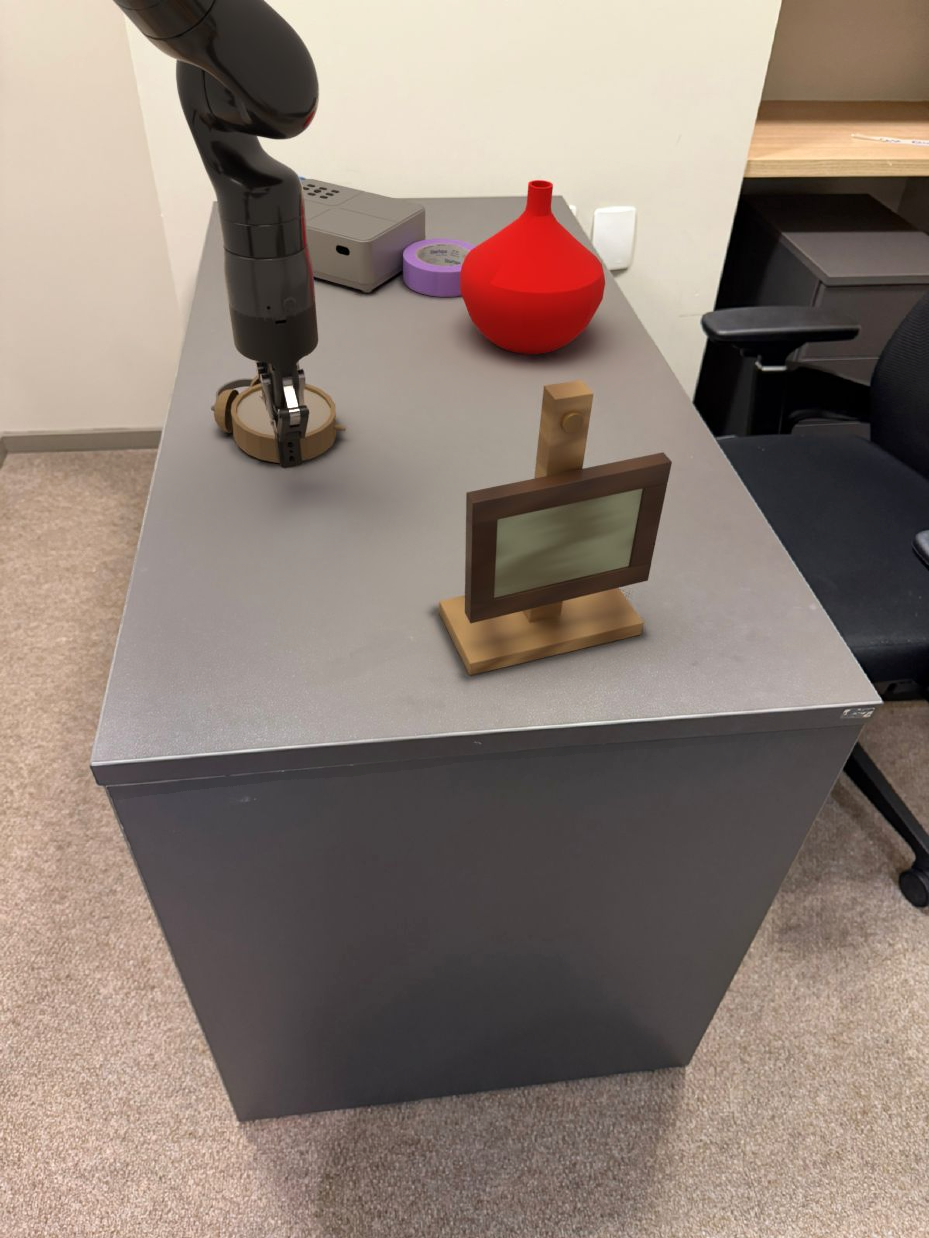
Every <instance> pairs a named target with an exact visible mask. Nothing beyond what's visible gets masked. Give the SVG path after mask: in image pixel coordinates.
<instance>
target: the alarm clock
mask: <svg viewBox="0 0 929 1238" xmlns="http://www.w3.org/2000/svg"><path fill="white" fill-rule="evenodd" d="M246 387H247V388H246ZM239 388H246V389H244V390H242V391H241V392H240V393H239V390H237V389H239ZM304 404H305V405H306V406H307V409H309V419H308V424H307V430H306V435H305V438H301V439H300V445H301V455H302V462H305V461H308V460H311V459H314V458H316V457H319V456H322V455H323V454H324V453H325V452H326V451H328V450H329V449H330V448H331V447H332V446H333V444H334V442H335V441H336V438H337V431H339V432H340V431H341V432H346V428H347V427H346V426H344V425H341V424H337V423H336V417H337V412H336V411H337V410H336V409H337V407H336V403H335V402H334V400H333V399H332V397H331V395H329V394H328V393H327V392H325V391H324V390H323V389H321V388H319V387H317V386H314V385H312V384H309V383H306V387H305V389H304ZM210 410H211V411H212V412H213V417H214V421H215V423H216V425H217V427H218V428H219V429H221V430H222V431H224V432H226V433H229V434H231V433H232V436H233V438H234V439H233V440H235V443H236V445H237V447H239V448H240V449H241V450H242V451H243V452H244V453H246V454H247V455H249V456H251V457H254V458H256V459H258V460H260V461H266V462H270V463H278V464H280V463H279V460H278V457H277V449H276V441H275V434H274V431H273V428H272V425H271V424H270V420H271V419H270V417H269V414H268V411H267V410H266V406H265V404H264V401H263V397H262V390H261V383H260V380H259V378H258V376H257V375H256V376H254V378H250V377H249V378H248V377H247V378H237V379H233V380H231V381H228V382H225V383H224V384H222V385H220V386H219V387H218V388H217V390H216V392H215V402H214V405H211V406H210Z"/></svg>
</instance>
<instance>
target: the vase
mask: <svg viewBox="0 0 929 1238" xmlns="http://www.w3.org/2000/svg"><path fill="white" fill-rule="evenodd" d="M553 190H554V184H553V183H552V182H551V181H548V180H543V179H535V180H530V181H529V182H528V183H527V193H526V195H527V196H526V204H525V209H524V210H523V212H522V213H521V214H520V215H519V217H518V218H516V219H515V220H513V221H512V222H510V223H508V225H506V226H504V227H503V228H502V229H500V230H499V231H498V232H496V233H495V234H494V235H492V236H490V237H488V238H487V239H485V240H484V241H483V242H481V243H479V244H478V245H475V246H476V247H475V248H473V249H472V250H471V251H470V252H469V253H468V254H467V255H466V257H465V259H464V262H463V264H462V267H461V273H460V292H461V294H462V296H461V297H462V299H463V302H464V305H465V307H466V311H467V313H468V315H469V318H470V319H471V321H472V323H473V324H474V325H475V327H476V328H477V329H478V331H479V332H480V333H481V334H482V335H483V336H484V337H485V338H486V339H487V340H489V341H490V342H491V343H492V344H494V345H496V346H497V347H499V348H501V349H503V350H506V351H509V352H512V353H517V354H523V355H540V354H541V355H542V354H547V353H552V352H554V351H556V350H558V349H561V348H563V347H564V346H566V345H568V344H570V343H571V342H572V341H574V340H575V339H576V338H577V337H578V336H580V334H581V333H583V331H584V330H585V329H587V327H588V326H589V324H590V322H591V321H592V319H593V318H594V316H595V314H596V312H597V311H598V309H599V307H600V305H601V303H602V301H603V299H604V294H605V288H606V277H605V272H604V268H603V263H602V262H601V261H600V260H599V258H598V257H597V255H595V254H594V253H593V252H592V251H591V250H589V249H588V248H587V247H586V246H585V245H584V244H583V243H581V242H580V241H579V240H578V239H577V238H576V237H575V236H573V235H572V233H571V232H569V230H567V229H566V228H565V227H564V226H563V225H562V224H561V223H560V222H559V221H558V220H557V218H556V217H555V215H554V213H553V211H552V201H553Z"/></svg>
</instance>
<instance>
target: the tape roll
mask: <svg viewBox="0 0 929 1238" xmlns="http://www.w3.org/2000/svg"><path fill="white" fill-rule="evenodd" d="M476 246H477V245H475V244H472V243H470V242H467V241H464V240H461V239H453V238H429V239H428V238H427V239H425V240H422V241H418V242H415V243H413V244H411V245H409V246H408V247H407V248H406V249H405V250H404V252H403V270H402V279H403V283H404V284H405V286H406V287H408V288H409V289H410V290H411V291H413V292H414V291H415V292H416V293H418V294H422V295H425V296H430V297H437V298H455V297H462V294H461V292H460V273H461V267H462V264H463V262H464V259H465V257H466V255H467V254H468V253H469V252H470V251H471V250H472V249H473V248H475V247H476Z"/></svg>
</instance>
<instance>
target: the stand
mask: <svg viewBox="0 0 929 1238" xmlns="http://www.w3.org/2000/svg"><path fill="white" fill-rule="evenodd" d="M593 400H594V392H593V391H592V390H591V389H590V388H589V386H588V385H587V384H586V383H585V381H584V380H583V379H579V380H572V381H566V382H560V383H553V384H547V385H543V393H542V399H541V401H542V402H541V410H540V412H541V413H540V420H539V431H538V439H537V450H536V458H535V467H534V477H533V479H534V478H539V477H544V476H549V475H554V474H559V473H564V472H569V471H574V470H579V469H584V463H585V462H584V461H585V455H586V448H587V441H588V434H589V429H590V421H591V414H592V408H593V407H592V406H593ZM438 614H439V616H440V618H441V619H442V622H443V624H444V626H445V628H446V630H447V632H448V634H449V636H450V638H451V640H452V642H453V645H454V646H455V649H456V651H457V653H458V655H459V657H460V659H461V661H462V662H463V665H464V667H465V670H466V671H467V673H468V676H473V675H477V674H483V673H487V672H490V671H494V670H499V669H503V668H507V667H511V666H515V665H519V664H524V663H527V662H531V661H536V660H540V659H544V658H548V657H552V656H557V655H561V654H564V653H569V652H573V651H579V650H582V649H586V648H590V647H594V646H599V645H602V644H607V643H611V642H615V641H620V640H624V639H627V638H632V637H636V636H640V635H641V634H642V631H643V627H644V621H643V620H642V618H641V617H640V616H639V614H638V613H637V611H636V610H635V609H634V607H633V606H632V604H631V603H630V601H629V600H628V599H627V597H626V596H625V595H624V593H623V592H622V590H621V589H620V587H619V588H615V589H611V590H607V591H603V592H599V593H595V594H590V595H586V596H582V597H578V598H574V599H570V600H566V601H562V602H557V603H553V604H549V605H545V606H541V607H537V608H533V609H529V610H524V611H520V612H516V613H512V614H508V615H504V616H500V617H496V618H492V619H487V620H483V621H479V622H475V623H470V622H469V620H468V618H467V616H466V614H465V595H461V596H456V597H451V598H447V599H442V600H439V601H438Z"/></svg>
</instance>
